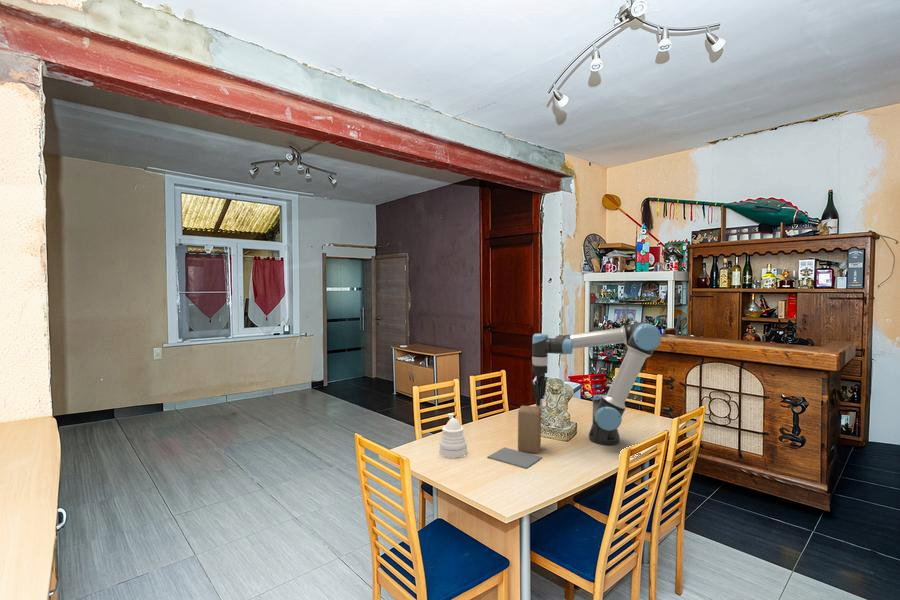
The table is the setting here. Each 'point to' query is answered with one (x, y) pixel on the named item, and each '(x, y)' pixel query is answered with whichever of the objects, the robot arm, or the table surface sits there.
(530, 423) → the wooden block
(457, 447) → the honey pot
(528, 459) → the mat
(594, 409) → the robot arm
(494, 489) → the table surface
